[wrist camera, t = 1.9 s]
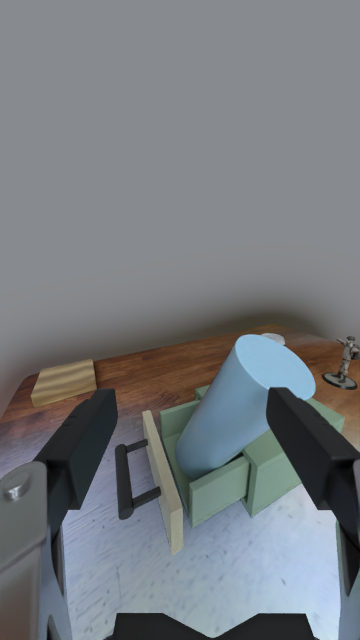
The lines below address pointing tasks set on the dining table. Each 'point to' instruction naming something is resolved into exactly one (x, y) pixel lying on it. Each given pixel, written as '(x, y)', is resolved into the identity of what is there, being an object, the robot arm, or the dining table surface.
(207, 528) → the dining table surface
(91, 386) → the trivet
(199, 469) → the light blue cylinder
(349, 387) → the figurine
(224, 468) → the drawer
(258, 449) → the cabinet
